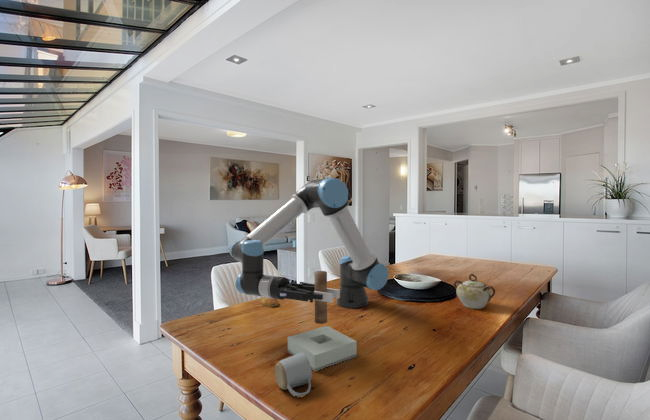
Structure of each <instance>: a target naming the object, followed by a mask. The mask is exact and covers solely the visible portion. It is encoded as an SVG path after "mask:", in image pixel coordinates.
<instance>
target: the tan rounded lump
mask: <svg viewBox="0 0 650 420" xmlns="http://www.w3.org/2000/svg"><path fill="white" fill-rule="evenodd" d="M261 304H262V305H263V306H265V307H268V308H274V307H278V305H279V301H278V299H274V298H270V299H268V298H267V297H262V299H261Z"/></svg>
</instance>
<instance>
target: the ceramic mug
mask: <svg viewBox="0 0 650 420" xmlns="http://www.w3.org/2000/svg"><path fill="white" fill-rule="evenodd" d="M274 376H275V377H274V378H275V380H276V384H277V385H278V387H279V388H280V389H281V390H284V391H285V390H287V391H289V393H290V394H291V395H292V396H293V397H295V396H298V397H297V398H299V396H304V395H306V394H308V393H309V394H310V391H311V387H312V384H311V383H312V382H311V381H312V378H313V377H312V376H313V371H312V370H311V365H310V362H309V360H308V358H307V356H306V355H305V354H304V353H299V354H296V355H294V356H293V355H291V356H289V357H287V358H284V359H281V360H280V361H278V362H276V364H275V365H274ZM306 384H308V388H307V390H306V391H304V392H297V391H295V390H294V389H293V388H296V387H299V386H303V385H306ZM309 394H308V395H309Z"/></svg>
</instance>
